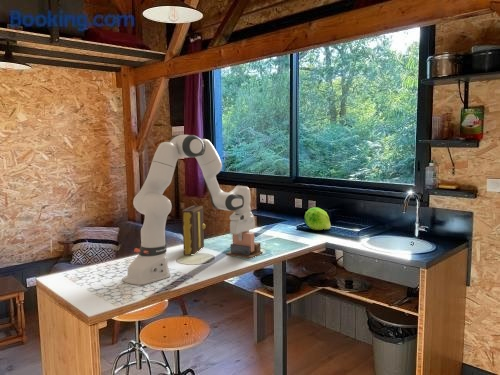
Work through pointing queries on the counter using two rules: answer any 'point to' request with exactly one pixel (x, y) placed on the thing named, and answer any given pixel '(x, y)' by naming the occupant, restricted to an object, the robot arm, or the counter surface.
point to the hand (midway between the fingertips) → (243, 239)
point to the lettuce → (317, 219)
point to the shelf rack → (252, 254)
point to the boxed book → (245, 240)
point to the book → (193, 229)
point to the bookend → (240, 249)
